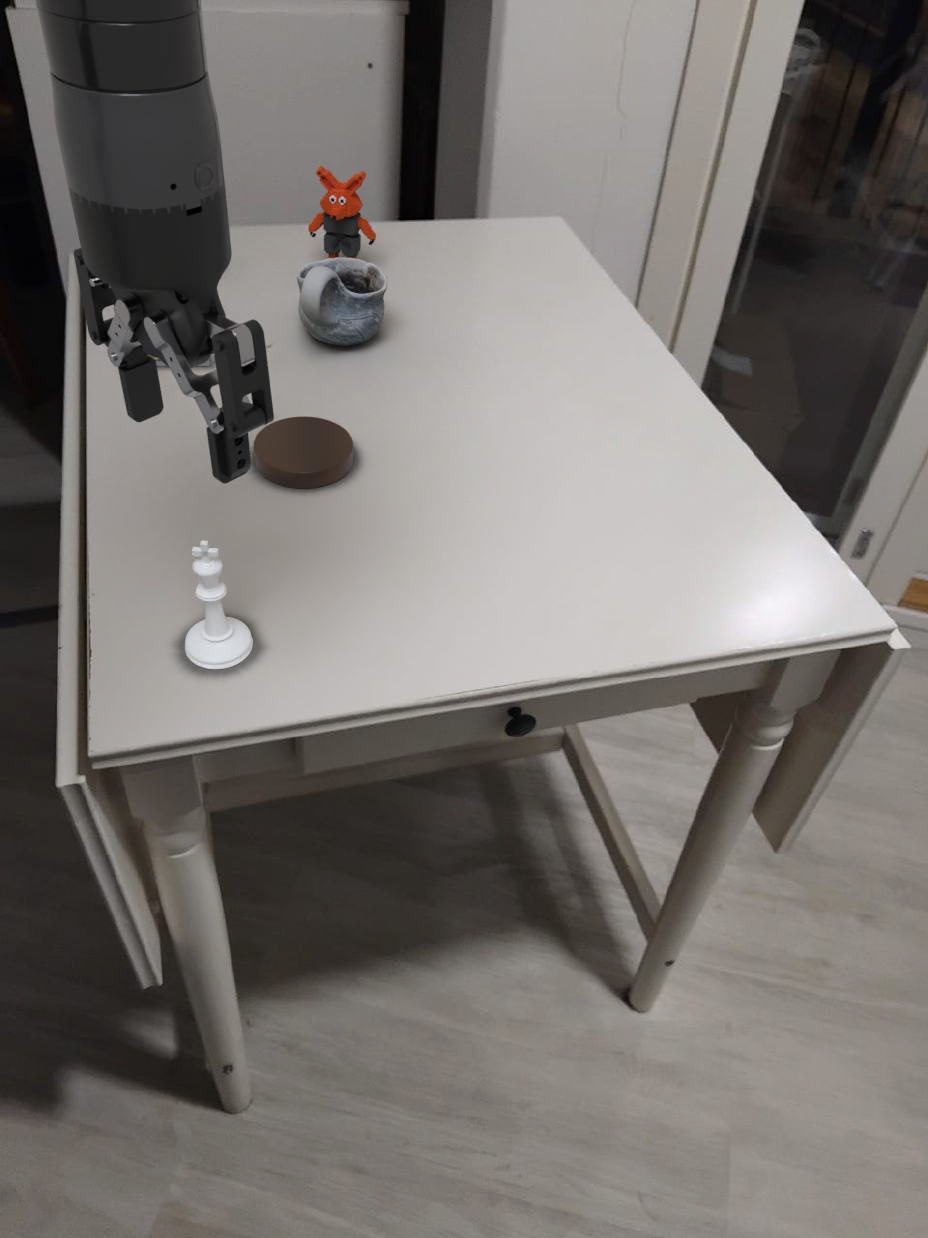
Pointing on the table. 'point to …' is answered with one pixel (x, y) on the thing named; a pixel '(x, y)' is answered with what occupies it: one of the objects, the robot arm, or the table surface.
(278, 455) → the walnut chip
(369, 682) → the table surface
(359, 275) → the mug
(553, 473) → the table surface
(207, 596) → the chess piece
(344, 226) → the toy animal
